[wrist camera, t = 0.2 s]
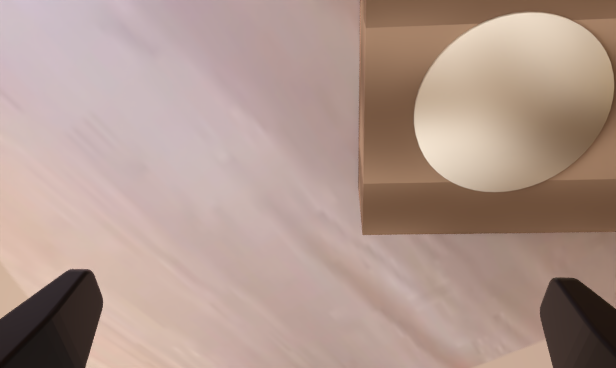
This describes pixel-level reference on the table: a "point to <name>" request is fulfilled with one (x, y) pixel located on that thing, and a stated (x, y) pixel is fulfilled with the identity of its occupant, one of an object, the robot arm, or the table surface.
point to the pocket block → (487, 116)
